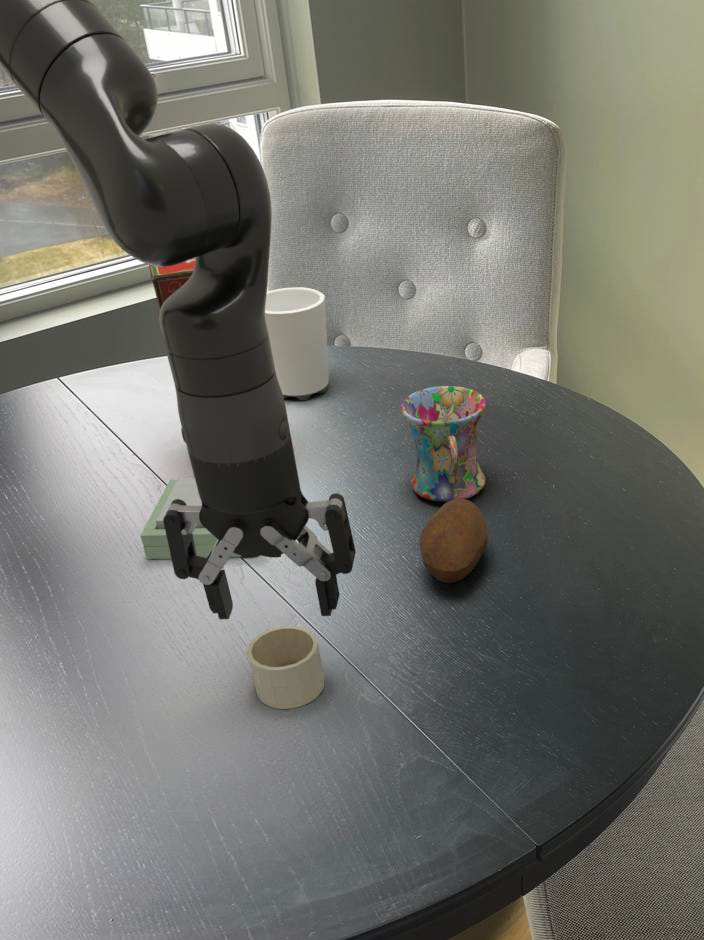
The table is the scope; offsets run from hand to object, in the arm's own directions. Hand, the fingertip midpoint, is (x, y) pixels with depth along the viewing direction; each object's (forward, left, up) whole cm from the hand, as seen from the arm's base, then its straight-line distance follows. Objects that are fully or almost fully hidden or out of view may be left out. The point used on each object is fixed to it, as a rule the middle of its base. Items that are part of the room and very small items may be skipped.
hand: (276, 612), depth 81 cm
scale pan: (-13, +27, -6) cm, 31 cm away
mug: (+13, +33, -8) cm, 36 cm away
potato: (+14, +18, -8) cm, 24 cm away
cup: (-9, +63, -8) cm, 64 cm away
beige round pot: (0, 0, -8) cm, 8 cm away
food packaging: (-14, +43, -8) cm, 46 cm away
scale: (-13, +27, -8) cm, 31 cm away
